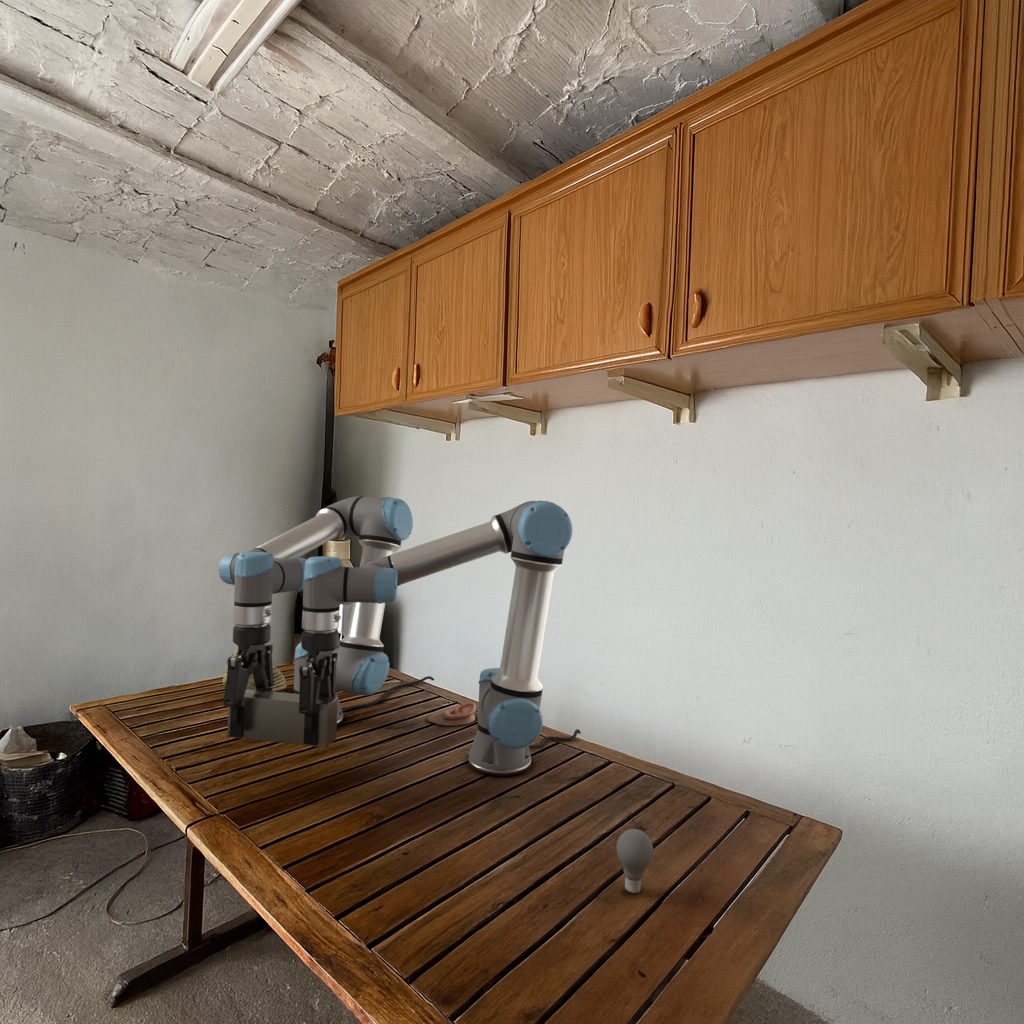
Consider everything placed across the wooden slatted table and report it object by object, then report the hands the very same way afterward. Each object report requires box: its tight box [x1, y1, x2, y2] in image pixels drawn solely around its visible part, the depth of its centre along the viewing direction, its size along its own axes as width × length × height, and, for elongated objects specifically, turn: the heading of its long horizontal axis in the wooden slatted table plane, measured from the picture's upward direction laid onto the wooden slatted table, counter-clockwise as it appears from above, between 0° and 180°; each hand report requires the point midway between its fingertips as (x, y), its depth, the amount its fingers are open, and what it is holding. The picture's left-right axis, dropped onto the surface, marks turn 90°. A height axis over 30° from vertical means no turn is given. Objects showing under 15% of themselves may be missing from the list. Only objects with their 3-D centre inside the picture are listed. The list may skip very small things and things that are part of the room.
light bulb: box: [615, 828, 654, 894], centre depth 106 cm, size 6×6×10 cm
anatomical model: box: [426, 702, 477, 726], centre depth 183 cm, size 13×4×12 cm
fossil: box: [222, 647, 288, 693], centre depth 198 cm, size 9×18×15 cm, turn 132°
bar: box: [226, 689, 339, 748], centre depth 135 cm, size 22×5×9 cm, turn 81°
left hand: (248, 728), depth 137 cm, fingers open, 8 cm apart
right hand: (316, 738), depth 134 cm, fingers closed on bar, 5 cm apart
